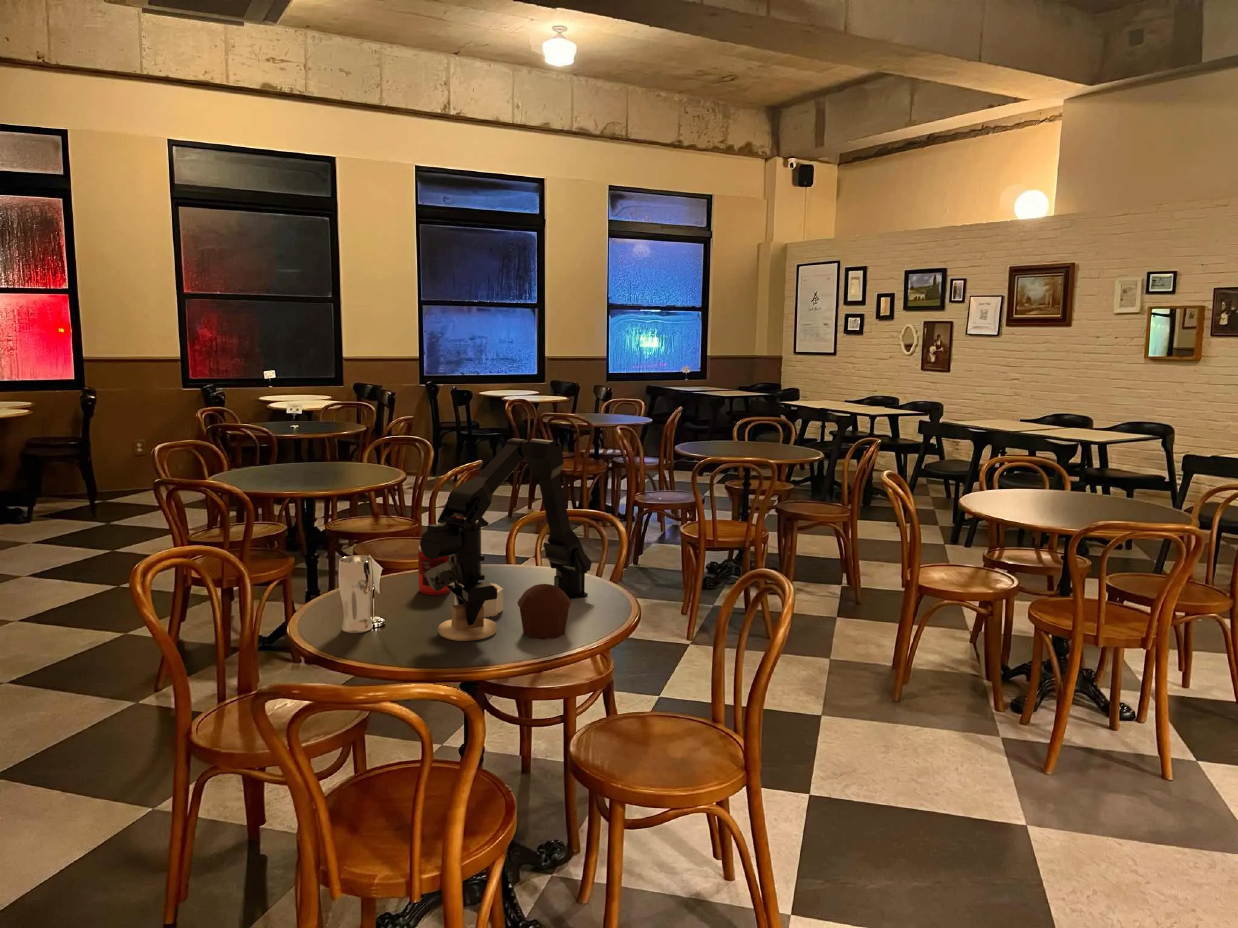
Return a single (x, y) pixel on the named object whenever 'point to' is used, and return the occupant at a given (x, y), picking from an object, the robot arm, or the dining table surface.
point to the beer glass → (356, 592)
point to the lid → (466, 626)
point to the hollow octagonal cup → (492, 603)
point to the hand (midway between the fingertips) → (467, 622)
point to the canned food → (424, 566)
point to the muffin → (544, 611)
